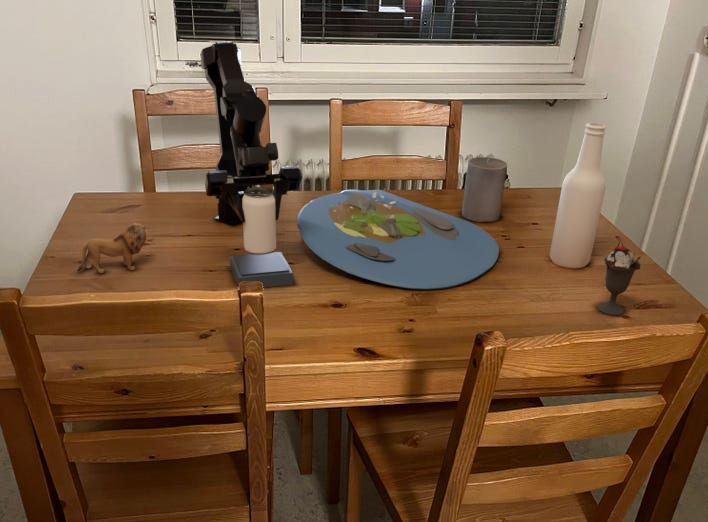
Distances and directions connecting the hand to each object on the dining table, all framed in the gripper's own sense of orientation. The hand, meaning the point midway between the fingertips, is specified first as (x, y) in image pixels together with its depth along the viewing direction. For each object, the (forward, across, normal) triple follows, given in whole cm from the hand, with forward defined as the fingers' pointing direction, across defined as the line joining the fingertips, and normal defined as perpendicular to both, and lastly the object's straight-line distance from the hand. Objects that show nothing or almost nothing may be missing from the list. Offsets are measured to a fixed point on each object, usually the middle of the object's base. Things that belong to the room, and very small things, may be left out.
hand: (260, 220), depth 145 cm
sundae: (+30, +63, -12) cm, 71 cm away
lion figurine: (0, -28, +18) cm, 33 cm away
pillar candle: (-8, +61, +26) cm, 67 cm away
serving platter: (+3, +33, +15) cm, 36 cm away
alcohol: (+14, +68, +4) cm, 70 cm away
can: (+4, 0, +6) cm, 7 cm away
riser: (+8, 0, +10) cm, 13 cm away
